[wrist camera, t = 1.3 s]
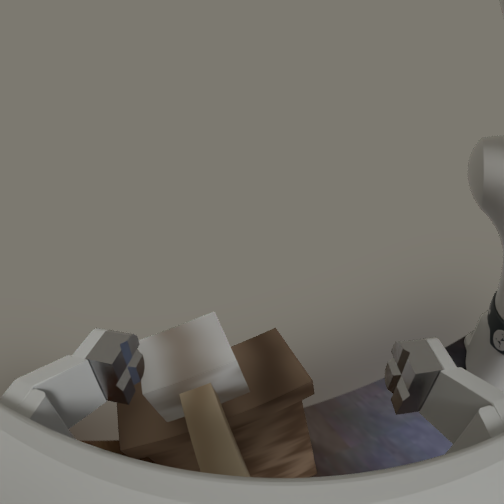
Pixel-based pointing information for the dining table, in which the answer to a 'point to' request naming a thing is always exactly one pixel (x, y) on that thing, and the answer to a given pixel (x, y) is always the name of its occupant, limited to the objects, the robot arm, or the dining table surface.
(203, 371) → the mallet
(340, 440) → the dining table surface
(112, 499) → the robot arm
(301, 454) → the walnut stand
